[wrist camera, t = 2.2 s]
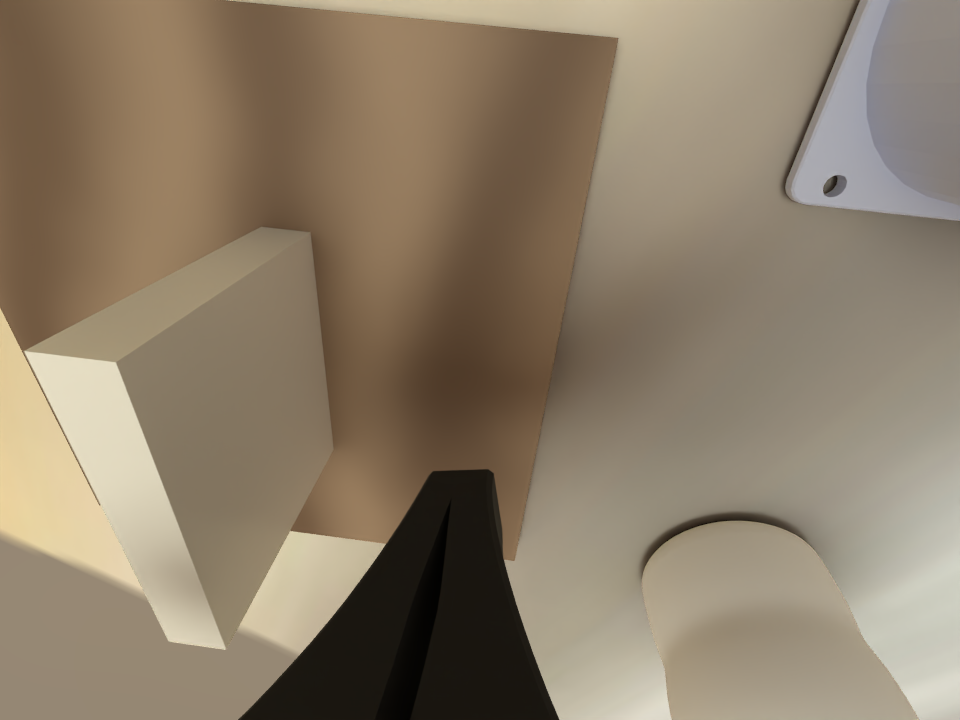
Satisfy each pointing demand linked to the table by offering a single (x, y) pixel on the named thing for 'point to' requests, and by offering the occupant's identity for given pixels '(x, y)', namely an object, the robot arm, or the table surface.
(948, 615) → the table surface
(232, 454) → the tile
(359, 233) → the board
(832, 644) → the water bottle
